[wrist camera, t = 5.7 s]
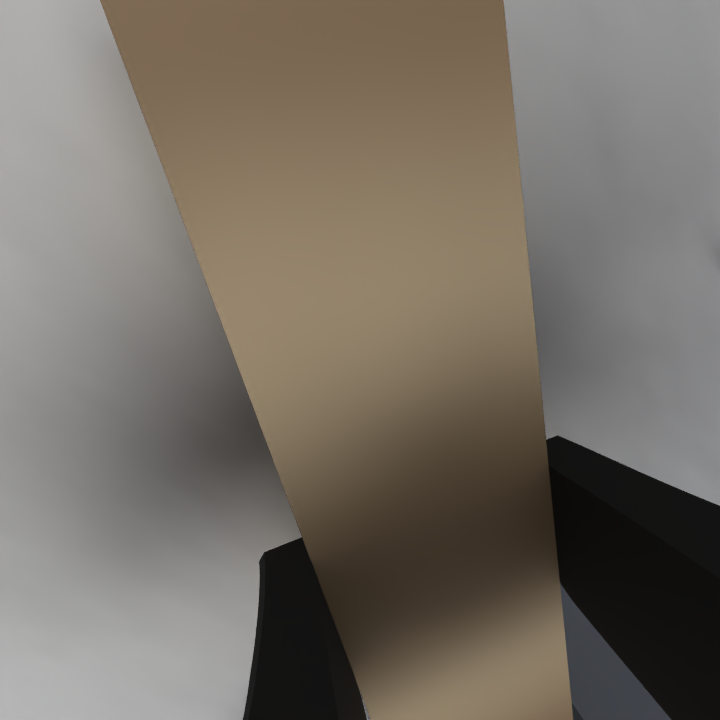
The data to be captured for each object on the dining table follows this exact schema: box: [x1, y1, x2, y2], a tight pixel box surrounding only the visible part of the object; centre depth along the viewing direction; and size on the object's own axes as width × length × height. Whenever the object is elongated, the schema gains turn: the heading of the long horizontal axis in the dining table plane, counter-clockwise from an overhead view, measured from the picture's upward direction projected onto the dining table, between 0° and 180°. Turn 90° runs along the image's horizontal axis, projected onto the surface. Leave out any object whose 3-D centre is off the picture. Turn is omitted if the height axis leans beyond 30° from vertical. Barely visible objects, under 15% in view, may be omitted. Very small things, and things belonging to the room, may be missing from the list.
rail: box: [100, 0, 573, 720], centre depth 11 cm, size 16×4×4 cm, turn 13°
